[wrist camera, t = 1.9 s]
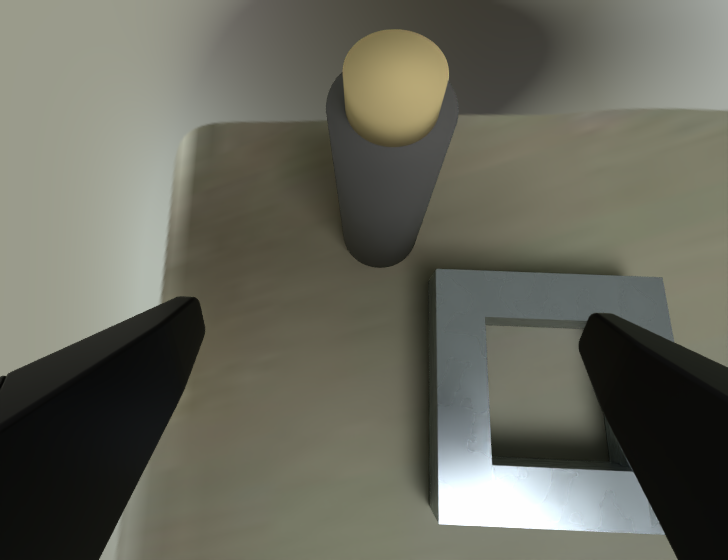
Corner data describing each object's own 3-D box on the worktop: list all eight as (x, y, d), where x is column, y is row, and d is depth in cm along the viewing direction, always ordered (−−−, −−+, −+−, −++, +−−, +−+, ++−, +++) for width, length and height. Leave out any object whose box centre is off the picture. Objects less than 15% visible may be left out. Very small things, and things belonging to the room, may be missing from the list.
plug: (415, 268, 23) (473, 137, 11) (341, 266, 23) (315, 132, 11) (416, 201, 24) (468, 15, 12) (345, 199, 24) (326, 11, 12)
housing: (665, 517, 19) (709, 536, 17) (429, 506, 19) (438, 523, 17) (630, 289, 22) (662, 277, 20) (428, 281, 22) (435, 268, 20)
